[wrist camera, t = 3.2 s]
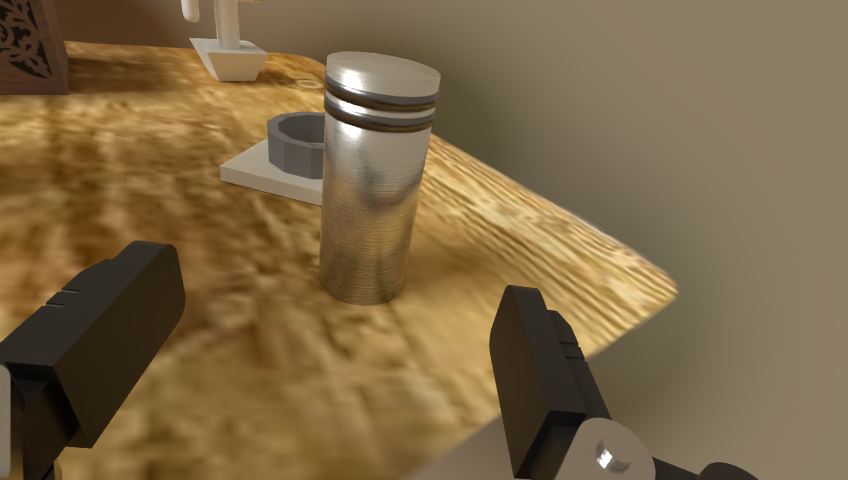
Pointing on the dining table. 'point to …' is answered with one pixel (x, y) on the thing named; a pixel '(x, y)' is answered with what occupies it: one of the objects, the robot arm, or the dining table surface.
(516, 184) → the dining table surface
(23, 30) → the tissue box cover
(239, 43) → the figurine
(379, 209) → the piston
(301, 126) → the ring stand
